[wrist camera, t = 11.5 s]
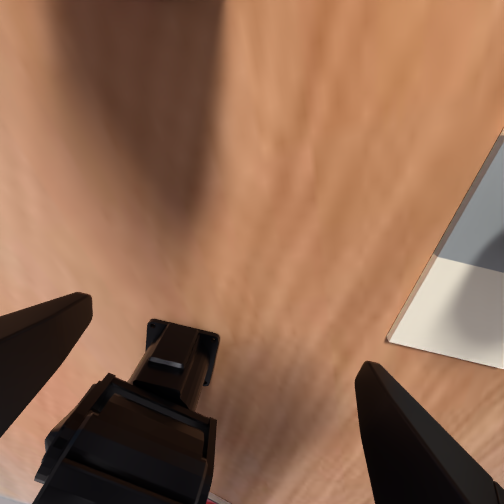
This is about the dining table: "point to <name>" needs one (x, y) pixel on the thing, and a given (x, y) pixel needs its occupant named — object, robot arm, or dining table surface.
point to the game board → (464, 279)
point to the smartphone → (215, 499)
